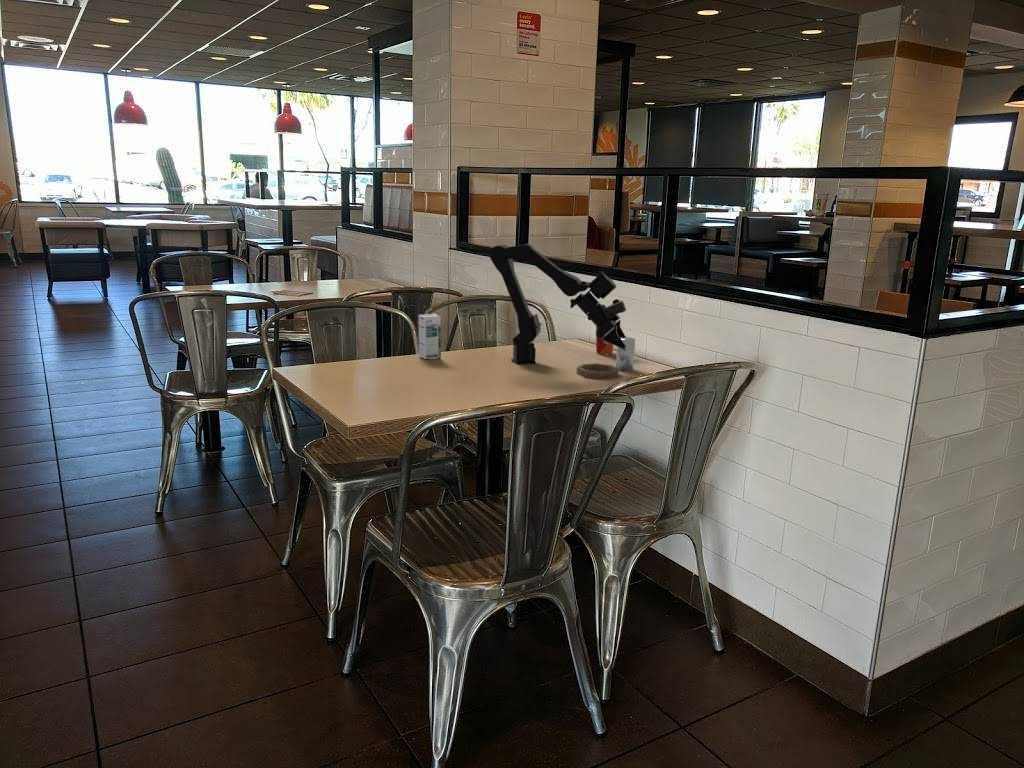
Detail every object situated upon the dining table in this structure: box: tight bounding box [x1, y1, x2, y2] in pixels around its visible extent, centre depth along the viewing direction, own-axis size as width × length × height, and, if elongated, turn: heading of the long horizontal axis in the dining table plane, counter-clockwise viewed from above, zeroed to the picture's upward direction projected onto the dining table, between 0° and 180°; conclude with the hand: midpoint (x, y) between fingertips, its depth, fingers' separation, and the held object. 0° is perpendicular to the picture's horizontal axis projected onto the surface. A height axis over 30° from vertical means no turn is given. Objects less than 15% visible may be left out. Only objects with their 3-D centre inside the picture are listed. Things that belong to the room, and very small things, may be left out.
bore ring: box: [576, 362, 619, 380], centre depth 237 cm, size 12×12×2 cm
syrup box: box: [418, 313, 442, 360], centre depth 253 cm, size 6×6×14 cm
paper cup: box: [595, 325, 614, 355], centre depth 267 cm, size 8×8×14 cm
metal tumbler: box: [615, 336, 636, 372], centre depth 243 cm, size 6×6×10 cm
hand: (625, 345), depth 243 cm, fingers open, 9 cm apart
